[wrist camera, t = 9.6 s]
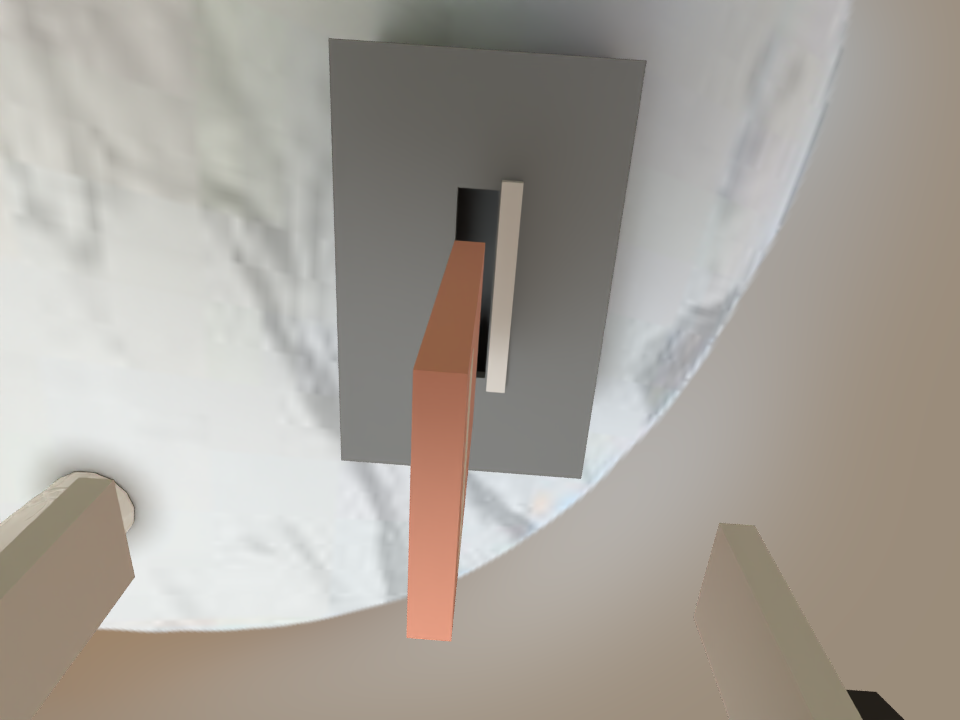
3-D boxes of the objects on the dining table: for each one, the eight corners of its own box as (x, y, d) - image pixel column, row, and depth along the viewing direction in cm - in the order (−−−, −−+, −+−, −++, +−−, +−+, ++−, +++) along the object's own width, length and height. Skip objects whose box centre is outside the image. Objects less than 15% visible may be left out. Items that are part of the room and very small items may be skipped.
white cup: (153, 489, 51) (76, 579, 41) (129, 556, 54) (52, 655, 44) (56, 449, 49) (-46, 533, 40) (37, 520, 52) (-62, 613, 43)
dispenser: (372, 48, 37) (325, 37, 27) (611, 65, 37) (649, 60, 27) (374, 384, 46) (338, 465, 36) (566, 398, 46) (582, 484, 36)
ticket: (454, 240, 25) (412, 369, 14) (485, 242, 25) (468, 374, 14) (445, 418, 28) (405, 637, 17) (473, 420, 28) (451, 641, 17)
